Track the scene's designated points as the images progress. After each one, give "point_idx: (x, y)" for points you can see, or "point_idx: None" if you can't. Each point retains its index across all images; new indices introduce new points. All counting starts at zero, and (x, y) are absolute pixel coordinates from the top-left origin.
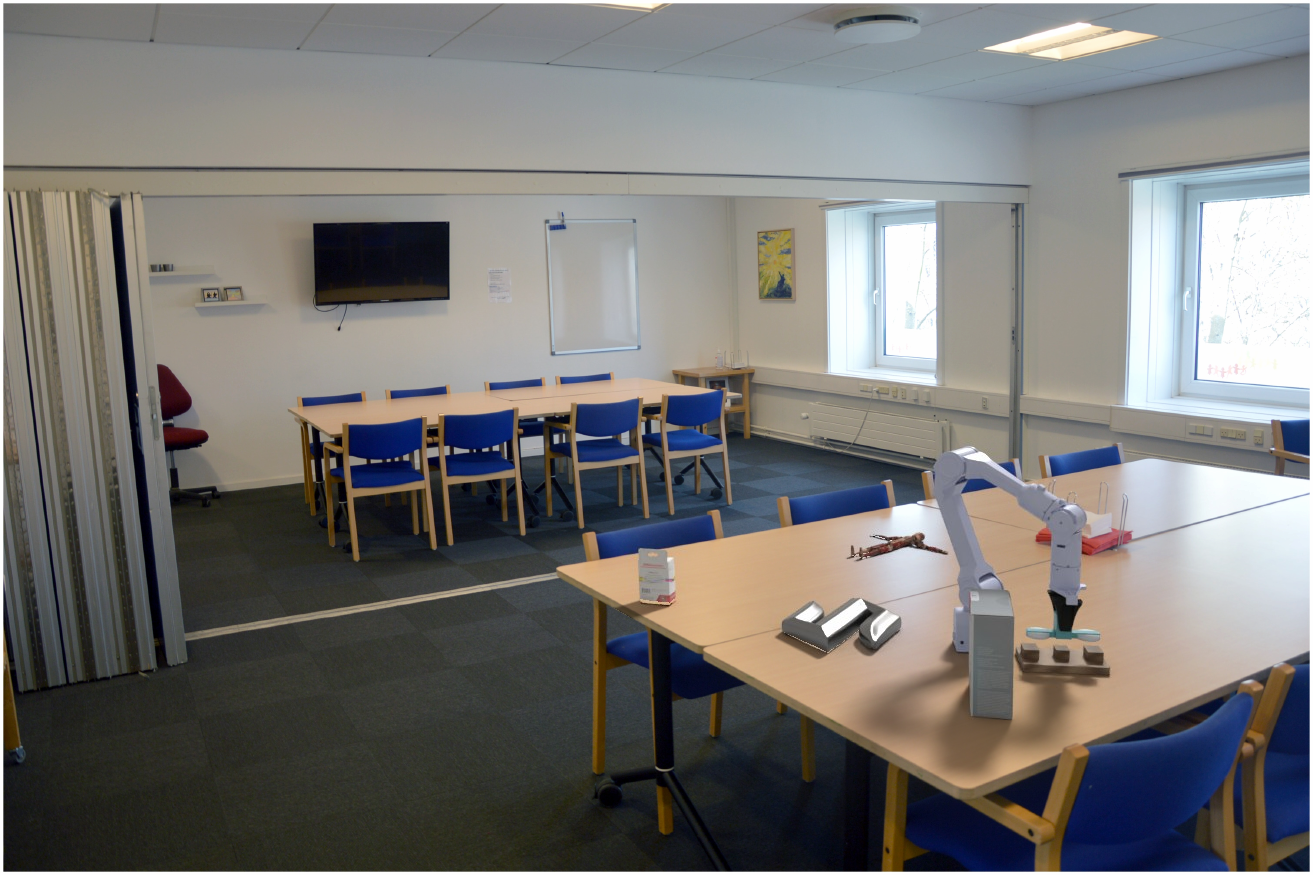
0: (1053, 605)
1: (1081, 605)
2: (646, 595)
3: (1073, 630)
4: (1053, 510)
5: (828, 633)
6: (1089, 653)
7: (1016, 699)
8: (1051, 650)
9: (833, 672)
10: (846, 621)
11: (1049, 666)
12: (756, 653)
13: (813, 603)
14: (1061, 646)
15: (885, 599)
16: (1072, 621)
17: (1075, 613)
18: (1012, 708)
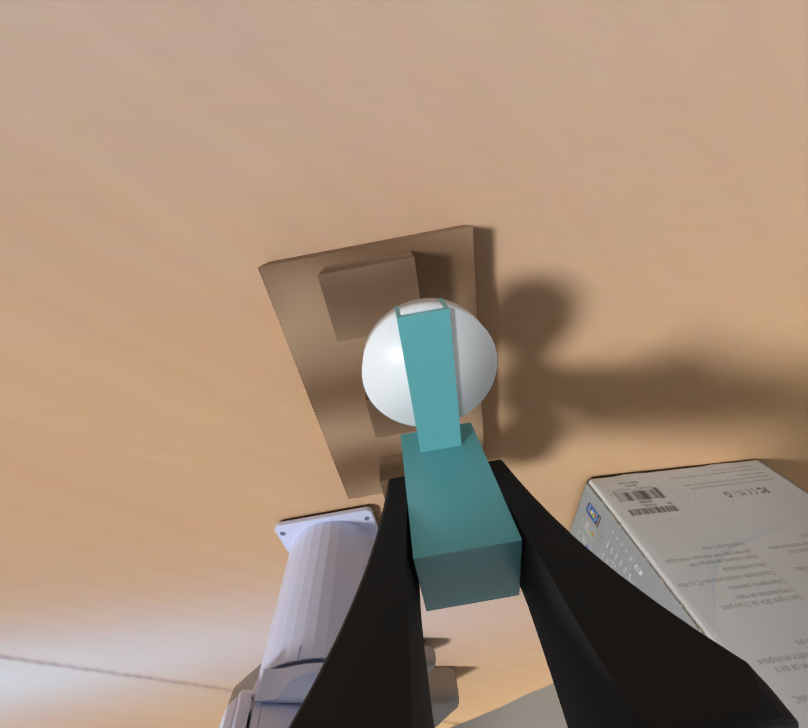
0: (425, 656)
1: (736, 656)
2: None
3: (422, 437)
4: None
5: (445, 710)
6: None
7: (654, 459)
8: (341, 420)
9: (527, 649)
10: None
11: (481, 418)
12: (471, 700)
13: None
14: (383, 415)
15: (118, 679)
16: (540, 509)
17: (608, 568)
18: (788, 479)
